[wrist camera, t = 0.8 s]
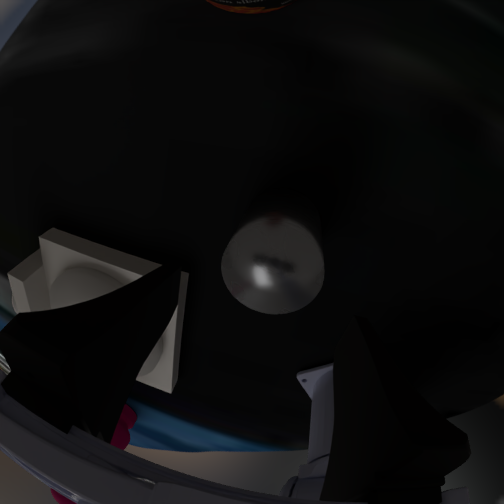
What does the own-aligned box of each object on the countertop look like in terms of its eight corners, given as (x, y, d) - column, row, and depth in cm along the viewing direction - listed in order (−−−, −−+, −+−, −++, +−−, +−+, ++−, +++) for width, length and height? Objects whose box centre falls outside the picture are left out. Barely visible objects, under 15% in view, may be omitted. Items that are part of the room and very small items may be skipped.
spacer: (332, 242, 20) (339, 295, 15) (266, 269, 22) (252, 324, 17) (300, 175, 18) (296, 207, 13) (231, 208, 20) (202, 249, 15)
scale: (188, 273, 23) (161, 316, 18) (177, 379, 30) (160, 418, 25) (33, 220, 24) (-4, 244, 19) (53, 324, 31) (29, 352, 26)
